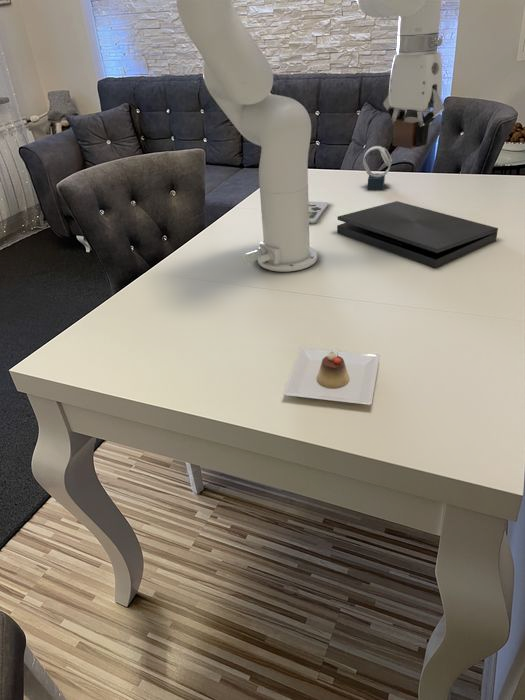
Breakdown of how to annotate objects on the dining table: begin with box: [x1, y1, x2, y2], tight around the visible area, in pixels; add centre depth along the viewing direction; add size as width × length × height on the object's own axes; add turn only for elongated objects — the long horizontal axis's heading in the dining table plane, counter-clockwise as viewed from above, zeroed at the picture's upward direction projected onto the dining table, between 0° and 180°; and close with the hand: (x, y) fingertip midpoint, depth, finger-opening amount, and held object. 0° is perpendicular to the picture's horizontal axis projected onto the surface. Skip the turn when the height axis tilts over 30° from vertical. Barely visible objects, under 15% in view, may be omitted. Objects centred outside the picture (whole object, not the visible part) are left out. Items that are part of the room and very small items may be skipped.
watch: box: [362, 145, 393, 191], centre depth 149 cm, size 6×8×11 cm
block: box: [392, 116, 419, 150], centre depth 111 cm, size 5×5×5 cm
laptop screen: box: [336, 200, 499, 253], centre depth 118 cm, size 20×28×1 cm
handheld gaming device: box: [308, 200, 329, 225], centre depth 137 cm, size 9×1×15 cm
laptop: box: [336, 222, 498, 269], centre depth 119 cm, size 20×28×2 cm
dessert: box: [281, 347, 381, 406], centre depth 75 cm, size 12×12×5 cm
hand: (409, 143), depth 113 cm, fingers closed on block, 5 cm apart
